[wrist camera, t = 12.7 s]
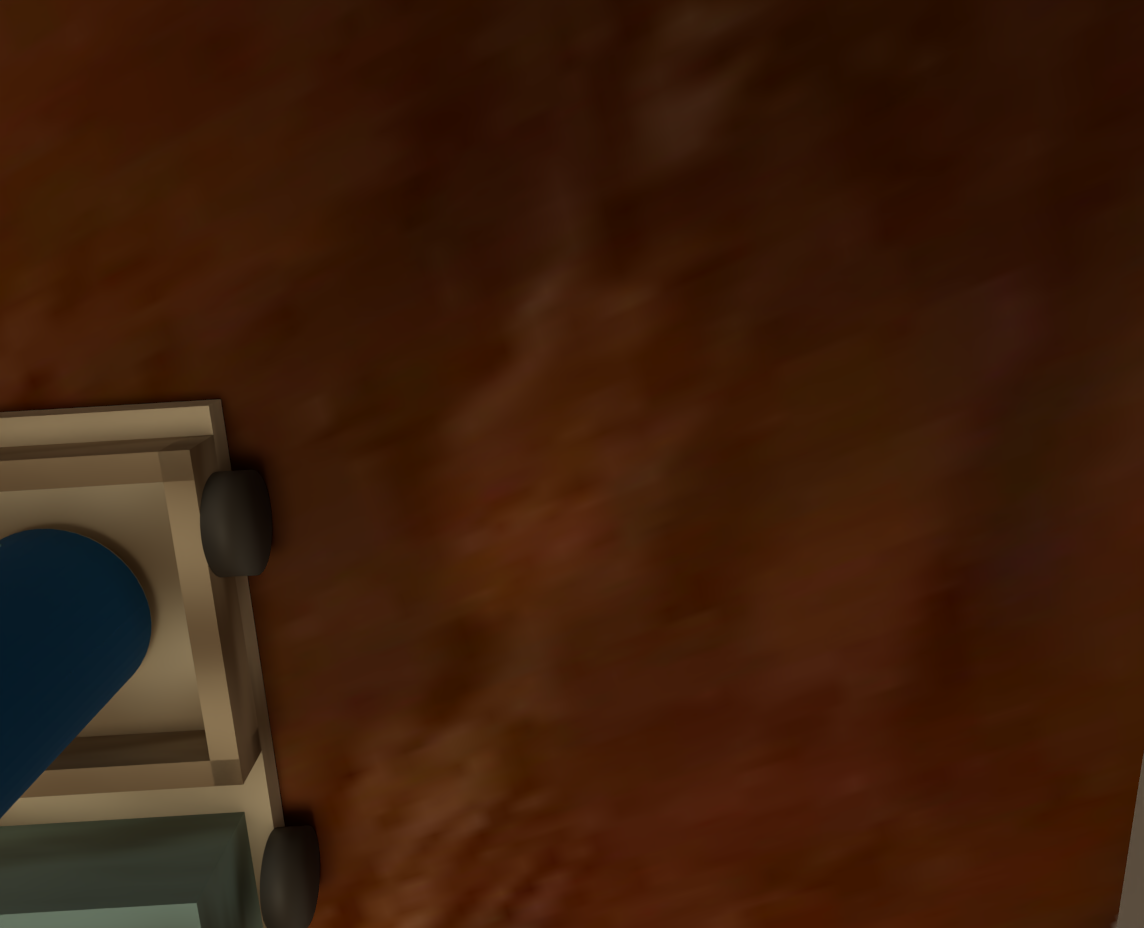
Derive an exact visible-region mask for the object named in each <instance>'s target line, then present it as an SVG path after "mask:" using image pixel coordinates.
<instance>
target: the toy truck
mask: <svg viewBox="0 0 1144 928" xmlns="http://www.w3.org/2000/svg"><path fill="white" fill-rule="evenodd" d="M33 529H59V530H66V531H70V532H74V533H78V534H80V535H83V536H86V537H89V538H91V539H93V540H95V541H97V542H98V543H100V544H102V545H104V546H105V547H107V548H108V549H110V550H111V551H112V552H113V553H115V554H116V555H117V556H118V557H119V558H121V559H122V560H123V561H124V563H125V564H126V565H127V566H128V567H129V568H130V569H131V570H132V572H133V573H134V575H135V576H136V577H137V579H138V581H139V582H140V584H141V586H142V588H143V590H144V592H145V595H146V597H147V600H148V604H149V608H150V613H151V621H152V625H151V638H150V643H149V647H148V650H147V653H146V656H145V657H144V659H143V661H142V663H141V665H140V667H139V668H138V669H137V671H136V672H135V673H134V675H133V676H132V677H131V678H130V679H129V680H128V681H127V682H126V683H125V684H124V685H123V686H122V688H121V689H120V690H119V691H118V692H117V693H116V694H115V695H114V696H113V697H112V698H111V699H110V701H109V702H108V703H107V704H106V705H105V706H104V707H103V708H102V709H101V710H100V711H99V712H98V714H97V715H96V716H95V717H94V718H93V719H92V720H91V721H90V722H89V723H88V724H87V725H86V727H85V728H84V729H83V730H82V731H81V732H80V733H79V734H78V735H77V736H76V737H75V738H74V740H73V741H72V742H71V743H70V744H69V745H68V746H67V747H66V748H65V749H64V750H63V751H62V752H61V754H60V755H59V756H58V757H57V758H56V759H55V760H54V761H53V762H52V763H51V764H50V765H49V767H48V768H47V769H46V770H45V771H44V772H43V773H42V774H41V775H40V776H39V777H38V778H37V780H36V781H35V782H34V783H33V784H32V785H31V786H30V787H29V788H28V789H27V790H26V791H25V793H24V794H23V795H22V796H21V797H20V798H19V799H18V800H17V801H16V802H15V803H14V804H13V806H12V807H11V808H10V809H9V810H8V811H7V812H6V813H5V814H4V815H3V816H2V817H1V819H0V928H307V927H308V926H309V925H310V923H311V921H312V918H313V915H314V912H315V908H316V904H317V898H318V891H319V880H320V855H319V846H318V840H317V836H316V833H315V830H314V829H313V827H312V826H310V825H305V826H288V827H285V823H284V817H283V810H282V803H281V797H280V790H279V783H278V777H277V770H276V763H275V757H274V750H273V743H272V737H271V730H270V723H269V717H268V710H267V703H266V697H265V690H264V683H263V677H262V670H261V664H260V657H259V650H258V644H257V637H256V630H255V624H254V617H253V610H252V604H251V597H250V590H249V584H248V577H247V576H252V575H259V574H261V573H262V572H263V571H264V569H265V567H266V565H267V563H268V559H269V555H270V550H271V542H272V514H271V506H270V500H269V495H268V492H267V488H266V485H265V483H264V480H263V478H262V477H261V475H260V474H259V473H258V472H257V471H256V470H253V469H252V470H235V471H231V464H230V457H229V451H228V444H227V437H226V431H225V424H224V417H223V411H222V404H221V399H215V400H198V401H182V402H165V403H148V404H131V405H115V406H98V407H81V408H64V409H48V410H31V411H14V412H0V540H1V539H2V538H4V537H7V536H9V535H12V534H14V533H18V532H22V531H25V530H33Z"/></svg>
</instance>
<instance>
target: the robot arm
mask: <svg viewBox="0 0 1144 928" xmlns="http://www.w3.org/2000/svg"><path fill="white" fill-rule="evenodd" d="M1117 928H1144V755H1143V761H1142V767H1141V774H1140V780H1139V787H1138V793H1137V800H1136V806H1135V813H1134V819H1133V826H1132V832H1131V838H1130V845H1129V851H1128V858H1127V864H1126V871H1125V877H1124V884H1123V890H1122V897H1121V903H1120V909H1119V916H1118V922H1117Z"/></svg>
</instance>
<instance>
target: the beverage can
mask: <svg viewBox="0 0 1144 928" xmlns="http://www.w3.org/2000/svg"><path fill="white" fill-rule="evenodd" d="M151 625H152V621H151V613H150V608H149V604H148V600H147V597H146V595H145V592H144V590H143V588H142V586H141V584H140V582H139V581H138V579H137V577H136V576H135V575H134V573H133V572H132V570H131V569H130V568H129V567H128V566H127V565H126V564H125V563H124V561H123V560H122V559H121V558H119V557H118V556H117V555H116V554H115V553H113V552H112V551H111V550H110V549H108V548H107V547H105V546H104V545H102V544H100V543H98V542H97V541H95V540H93V539H91V538H89V537H86V536H83V535H80V534H78V533H74V532H70V531H66V530H59V529H33V530H25V531H22V532H18V533H14V534H12V535H9V536H7V537H4V538H2V539H1V540H0V819H1V817H2V816H3V815H4V814H5V813H6V812H7V811H8V810H9V809H10V808H11V807H12V806H13V804H14V803H15V802H16V801H17V800H18V799H19V798H20V797H21V796H22V795H23V794H24V793H25V791H26V790H27V789H28V788H29V787H30V786H31V785H32V784H33V783H34V782H35V781H36V780H37V778H38V777H39V776H40V775H41V774H42V773H43V772H44V771H45V770H46V769H47V768H48V767H49V765H50V764H51V763H52V762H53V761H54V760H55V759H56V758H57V757H58V756H59V755H60V754H61V752H62V751H63V750H64V749H65V748H66V747H67V746H68V745H69V744H70V743H71V742H72V741H73V740H74V738H75V737H76V736H77V735H78V734H79V733H80V732H81V731H82V730H83V729H84V728H85V727H86V725H87V724H88V723H89V722H90V721H91V720H92V719H93V718H94V717H95V716H96V715H97V714H98V712H99V711H100V710H101V709H102V708H103V707H104V706H105V705H106V704H107V703H108V702H109V701H110V699H111V698H112V697H113V696H114V695H115V694H116V693H117V692H118V691H119V690H120V689H121V688H122V686H123V685H124V684H125V683H126V682H127V681H128V680H129V679H130V678H131V677H132V676H133V675H134V673H135V672H136V671H137V669H138V668H139V667H140V665H141V663H142V661H143V659H144V657H145V656H146V653H147V650H148V647H149V643H150V638H151Z"/></svg>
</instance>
